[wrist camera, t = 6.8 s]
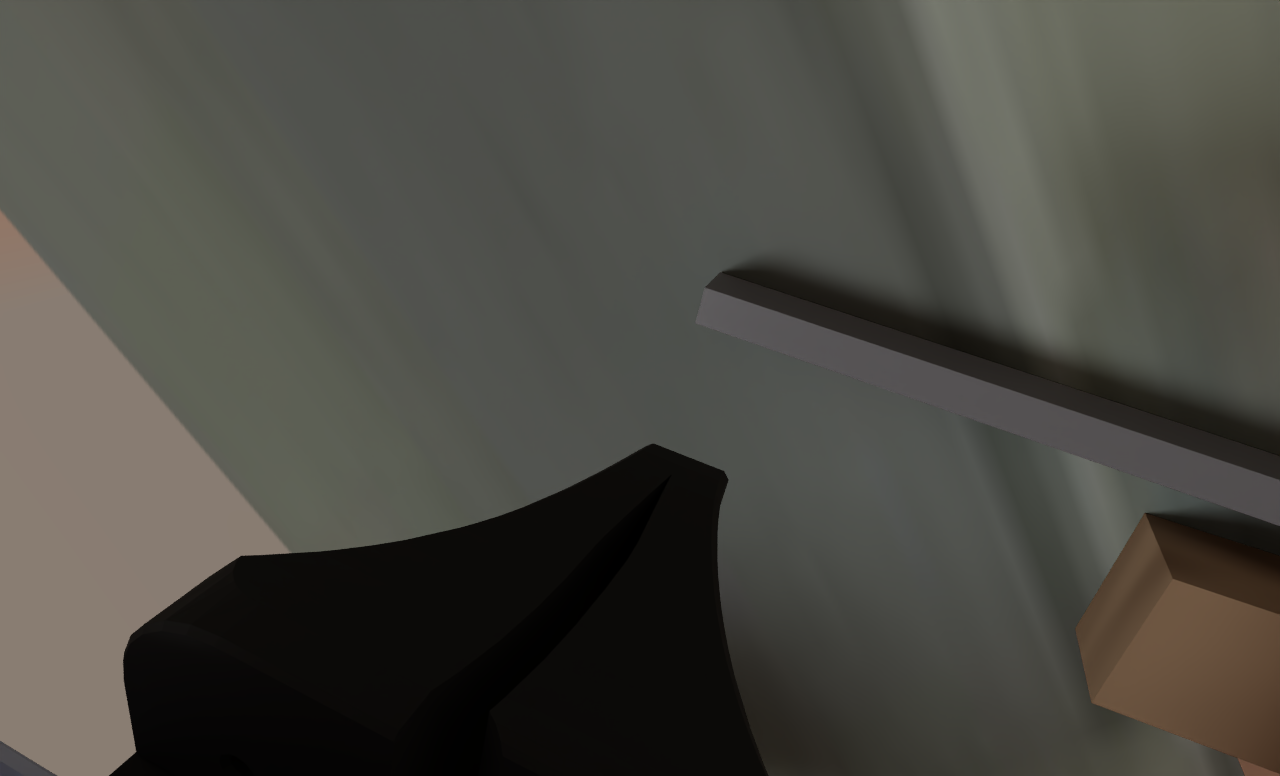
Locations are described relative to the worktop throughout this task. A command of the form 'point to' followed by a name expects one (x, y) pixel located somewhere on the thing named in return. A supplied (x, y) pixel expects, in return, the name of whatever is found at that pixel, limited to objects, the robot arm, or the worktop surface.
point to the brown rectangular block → (1190, 639)
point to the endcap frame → (1002, 400)
